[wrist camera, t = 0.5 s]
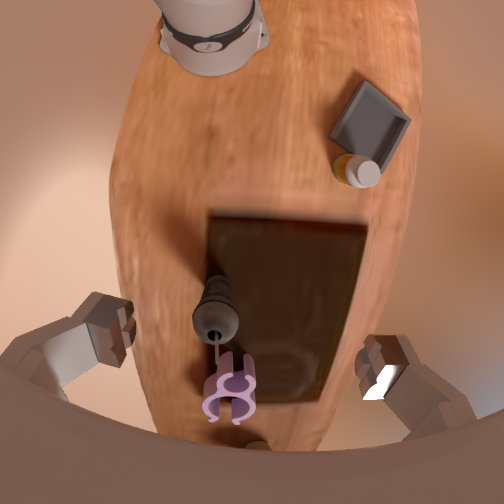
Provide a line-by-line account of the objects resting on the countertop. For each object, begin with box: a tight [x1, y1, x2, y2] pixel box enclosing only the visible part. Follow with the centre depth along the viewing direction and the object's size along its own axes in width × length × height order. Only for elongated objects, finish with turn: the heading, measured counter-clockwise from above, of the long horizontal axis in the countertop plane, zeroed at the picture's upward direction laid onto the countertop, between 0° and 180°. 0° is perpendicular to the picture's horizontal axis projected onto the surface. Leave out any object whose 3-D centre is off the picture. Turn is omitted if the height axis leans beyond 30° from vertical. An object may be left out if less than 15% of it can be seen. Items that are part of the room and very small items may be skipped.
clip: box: [202, 351, 256, 425], centre depth 58 cm, size 20×12×7 cm, turn 167°
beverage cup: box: [192, 275, 239, 364], centre depth 42 cm, size 7×7×20 cm
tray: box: [328, 80, 411, 174], centre depth 41 cm, size 13×12×2 cm
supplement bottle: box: [332, 154, 380, 188], centre depth 41 cm, size 5×5×10 cm
